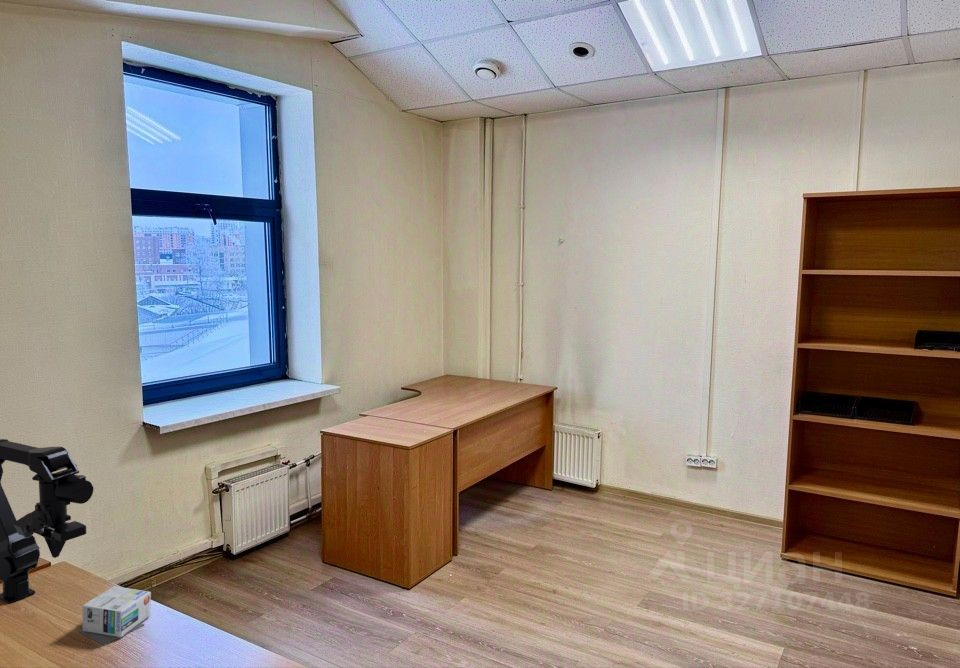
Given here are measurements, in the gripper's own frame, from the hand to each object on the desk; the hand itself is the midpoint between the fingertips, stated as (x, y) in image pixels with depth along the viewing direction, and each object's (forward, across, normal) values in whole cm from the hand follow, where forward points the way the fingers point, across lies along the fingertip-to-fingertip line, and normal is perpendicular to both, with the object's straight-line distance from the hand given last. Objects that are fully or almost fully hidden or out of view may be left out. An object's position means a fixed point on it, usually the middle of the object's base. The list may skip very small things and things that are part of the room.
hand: (55, 557), depth 170 cm
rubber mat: (+13, +22, +1) cm, 26 cm away
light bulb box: (+9, +16, +1) cm, 19 cm away
